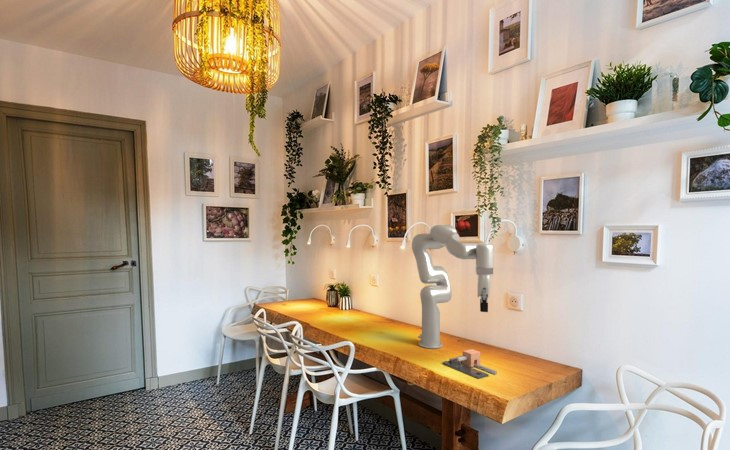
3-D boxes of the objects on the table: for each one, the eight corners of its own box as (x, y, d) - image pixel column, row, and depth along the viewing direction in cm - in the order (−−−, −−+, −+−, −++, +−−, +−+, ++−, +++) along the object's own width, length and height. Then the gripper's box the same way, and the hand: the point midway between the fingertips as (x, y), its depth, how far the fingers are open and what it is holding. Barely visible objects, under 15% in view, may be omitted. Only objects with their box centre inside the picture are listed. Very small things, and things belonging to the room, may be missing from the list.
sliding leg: (453, 365, 169) (453, 352, 169) (471, 361, 175) (471, 349, 175) (462, 369, 165) (462, 355, 165) (480, 365, 171) (480, 352, 171)
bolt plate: (442, 363, 172) (442, 361, 172) (452, 361, 175) (452, 359, 175) (478, 378, 154) (478, 376, 154) (488, 376, 157) (488, 374, 158)
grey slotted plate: (446, 362, 173) (446, 358, 174) (460, 359, 178) (460, 355, 178) (482, 377, 156) (482, 372, 156) (497, 374, 160) (497, 368, 160)
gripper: (475, 269, 180) (475, 305, 179) (475, 272, 163) (475, 312, 163) (492, 270, 178) (492, 307, 177) (493, 273, 161) (493, 314, 161)
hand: (483, 309), depth 170 cm, fingers open, 9 cm apart
